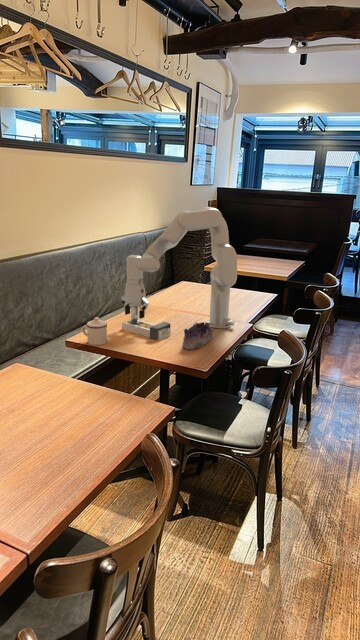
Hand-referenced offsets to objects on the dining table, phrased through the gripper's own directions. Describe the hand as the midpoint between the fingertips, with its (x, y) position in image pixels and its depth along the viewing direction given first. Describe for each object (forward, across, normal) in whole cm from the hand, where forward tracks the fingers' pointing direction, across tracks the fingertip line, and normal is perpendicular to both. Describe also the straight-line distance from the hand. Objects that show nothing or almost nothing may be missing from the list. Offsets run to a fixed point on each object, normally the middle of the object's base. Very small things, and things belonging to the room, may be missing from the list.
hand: (134, 315), depth 221 cm
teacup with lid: (+7, +2, +25) cm, 26 cm away
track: (+7, -7, 0) cm, 10 cm away
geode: (+7, -35, -4) cm, 36 cm away
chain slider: (+5, -2, 0) cm, 5 cm away
